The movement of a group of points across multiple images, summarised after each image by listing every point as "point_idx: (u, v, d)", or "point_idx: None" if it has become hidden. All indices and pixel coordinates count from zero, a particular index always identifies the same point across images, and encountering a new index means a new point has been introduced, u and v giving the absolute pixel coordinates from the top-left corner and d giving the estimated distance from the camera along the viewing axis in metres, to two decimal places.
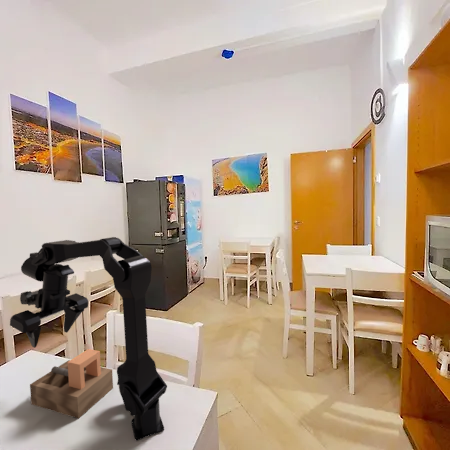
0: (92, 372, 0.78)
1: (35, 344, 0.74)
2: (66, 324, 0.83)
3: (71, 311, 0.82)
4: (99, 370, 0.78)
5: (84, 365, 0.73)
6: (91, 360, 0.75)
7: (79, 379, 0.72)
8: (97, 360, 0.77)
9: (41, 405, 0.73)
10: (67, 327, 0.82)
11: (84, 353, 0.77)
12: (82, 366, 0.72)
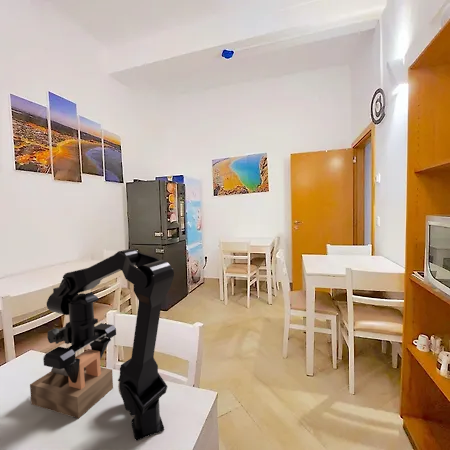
0: (92, 372, 0.78)
1: (75, 379, 0.71)
2: None
3: (98, 343, 0.79)
4: (99, 370, 0.78)
5: (84, 365, 0.73)
6: (91, 360, 0.75)
7: (79, 379, 0.72)
8: (97, 360, 0.77)
9: (41, 405, 0.73)
10: None
11: (84, 353, 0.77)
12: (82, 366, 0.72)
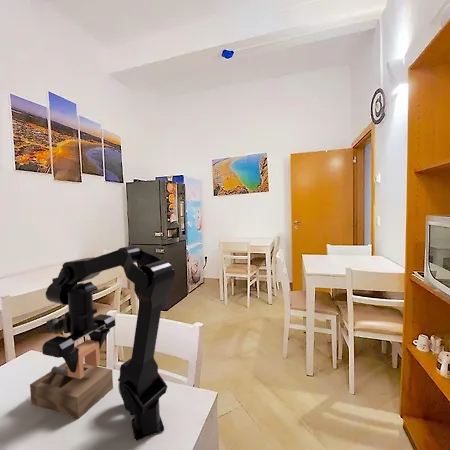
0: (91, 362, 0.77)
1: (74, 368, 0.71)
2: None
3: (97, 333, 0.78)
4: (98, 360, 0.77)
5: (83, 355, 0.73)
6: (90, 350, 0.75)
7: (78, 369, 0.72)
8: (96, 350, 0.77)
9: (41, 405, 0.73)
10: None
11: (83, 343, 0.76)
12: (81, 356, 0.72)
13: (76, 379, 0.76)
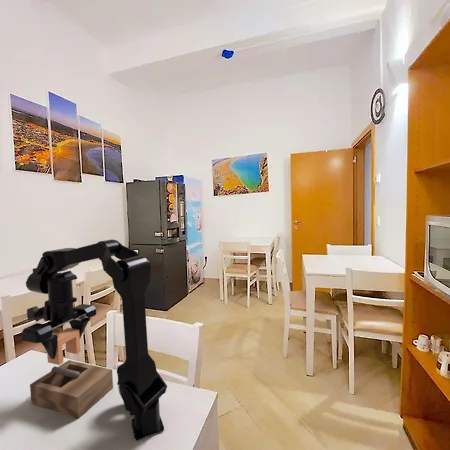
0: (71, 350, 0.79)
1: (54, 355, 0.73)
2: None
3: (77, 322, 0.80)
4: (78, 348, 0.80)
5: (62, 342, 0.75)
6: (70, 337, 0.77)
7: (57, 355, 0.74)
8: (76, 338, 0.79)
9: (41, 405, 0.73)
10: None
11: (63, 331, 0.79)
12: (60, 342, 0.74)
13: (76, 379, 0.76)
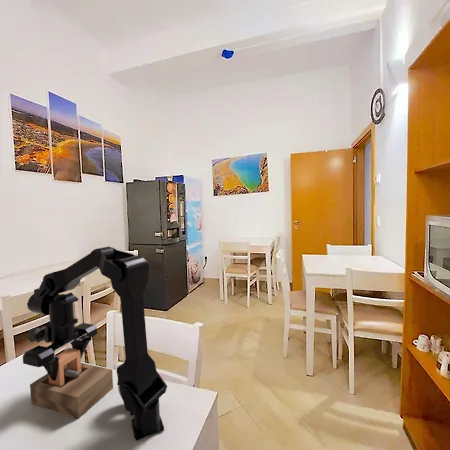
0: None
1: (55, 376, 0.74)
2: None
3: (78, 342, 0.81)
4: (79, 368, 0.80)
5: (64, 363, 0.75)
6: (71, 358, 0.77)
7: (58, 377, 0.74)
8: (77, 359, 0.79)
9: (41, 405, 0.73)
10: None
11: (65, 352, 0.79)
12: (61, 364, 0.74)
13: (76, 379, 0.76)
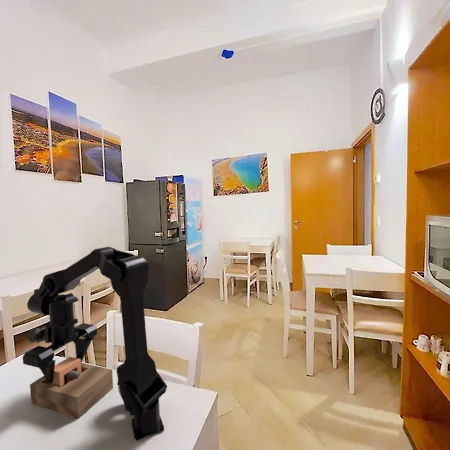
0: None
1: (51, 379, 0.73)
2: (78, 355, 0.82)
3: (81, 341, 0.82)
4: None
5: (64, 373, 0.75)
6: (71, 368, 0.78)
7: (59, 386, 0.74)
8: (78, 368, 0.80)
9: (41, 405, 0.73)
10: (80, 358, 0.82)
11: (65, 361, 0.79)
12: (62, 374, 0.75)
13: (76, 379, 0.76)
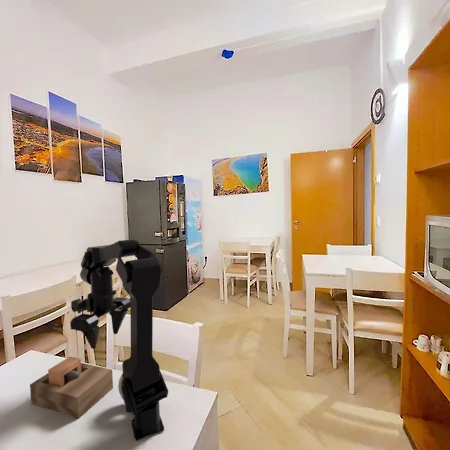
0: None
1: (95, 345, 0.79)
2: (115, 326, 0.88)
3: (117, 312, 0.88)
4: None
5: (64, 373, 0.75)
6: (71, 368, 0.77)
7: (59, 386, 0.74)
8: (78, 367, 0.80)
9: (41, 405, 0.73)
10: (116, 328, 0.88)
11: (65, 361, 0.79)
12: (62, 374, 0.75)
13: (76, 379, 0.76)
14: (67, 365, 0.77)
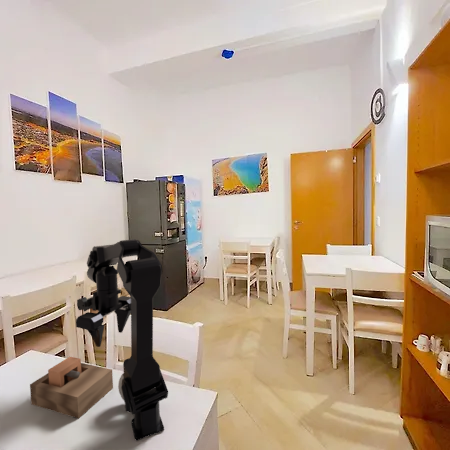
0: None
1: (100, 343, 0.79)
2: (120, 324, 0.89)
3: (122, 311, 0.88)
4: None
5: (64, 373, 0.75)
6: (71, 368, 0.77)
7: (59, 386, 0.74)
8: (78, 367, 0.80)
9: (41, 405, 0.73)
10: (121, 327, 0.88)
11: (65, 361, 0.79)
12: (62, 374, 0.75)
13: (76, 379, 0.76)
14: (67, 365, 0.77)
